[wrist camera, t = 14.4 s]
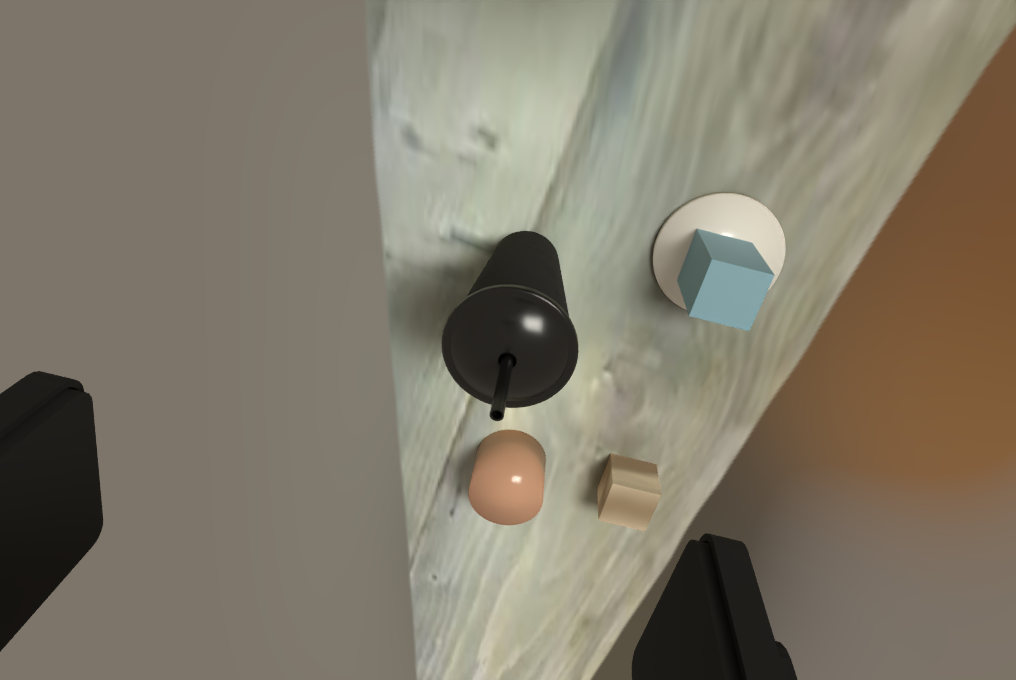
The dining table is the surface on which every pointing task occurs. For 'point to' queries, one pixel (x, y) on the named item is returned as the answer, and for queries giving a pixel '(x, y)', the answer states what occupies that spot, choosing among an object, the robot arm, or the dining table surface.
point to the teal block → (724, 280)
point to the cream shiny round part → (721, 217)
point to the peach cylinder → (508, 478)
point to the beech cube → (628, 492)
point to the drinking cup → (513, 328)
